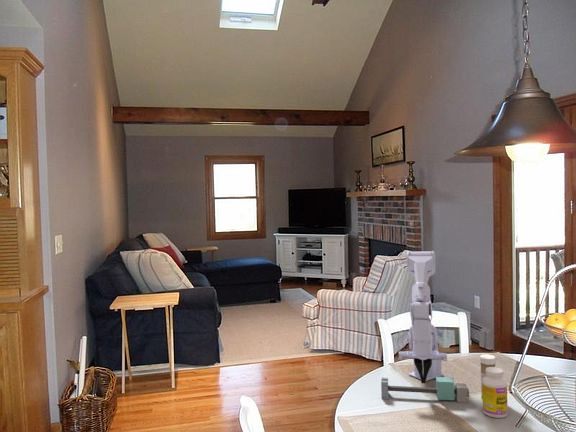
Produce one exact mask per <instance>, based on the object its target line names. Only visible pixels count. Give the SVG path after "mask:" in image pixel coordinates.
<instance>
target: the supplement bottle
mask: <svg viewBox="0 0 576 432" xmlns="http://www.w3.org/2000/svg"><path fill="white" fill-rule="evenodd" d="M485 373H486V376H485V377H484V378H483V379H482V391H481V396H482V398H481V400H482V403H481V405H482V412H483V414H485V415H486V416H488V417H490V418H495V419H502V418H505V417H507V415H508V409H509V408H508V382H507V380H506V379H505V378H504V377H503V376H504V369H502V368H500V367H496V366H495V367H488V368H486V370H485Z"/></svg>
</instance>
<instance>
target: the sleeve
mask: <svg viewBox="0 0 576 432" xmlns="http://www.w3.org/2000/svg"><path fill="white" fill-rule="evenodd" d="M435 386H436V387H435V388H437V393H435V394H436V400H442V401H455V394H454V389H455V381H454V378H453V377H451V376H450V377H449V376H447V377H446V376H440V377H436V378H435Z"/></svg>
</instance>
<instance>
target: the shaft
mask: <svg viewBox="0 0 576 432" xmlns="http://www.w3.org/2000/svg"><path fill="white" fill-rule="evenodd" d="M388 392H400V393H401V392H405V393H422V394H425V393H426V394H436V393H437V388H436V387H421V386H403V385H402V386H399V385H388ZM456 394H457V390H456V388H454V395H456Z"/></svg>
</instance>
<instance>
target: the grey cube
mask: <svg viewBox="0 0 576 432" xmlns="http://www.w3.org/2000/svg"><path fill="white" fill-rule="evenodd" d="M455 389H456V390H457V394H455V398H456V402H457V403H463V404H464V403H466V404H468V403H469V400H468V398H469V397H470V390H469V387H468V386H467V384H466V383H460V382H456V383H455Z"/></svg>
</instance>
